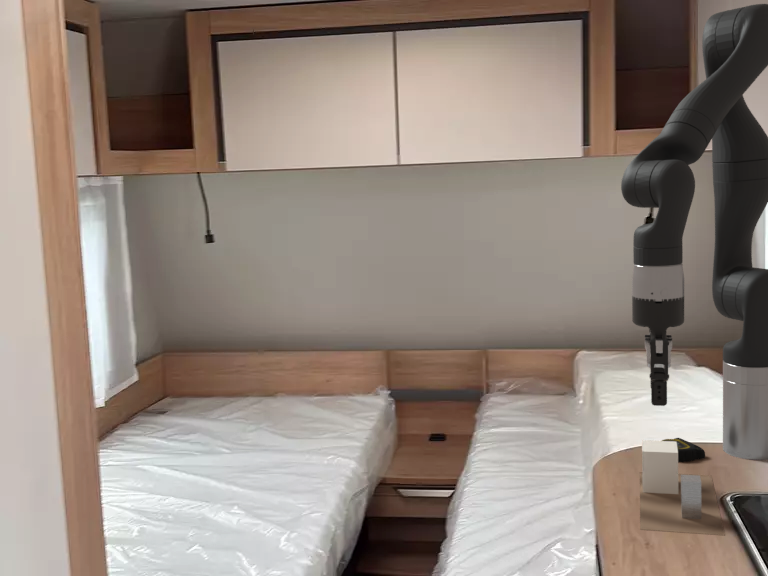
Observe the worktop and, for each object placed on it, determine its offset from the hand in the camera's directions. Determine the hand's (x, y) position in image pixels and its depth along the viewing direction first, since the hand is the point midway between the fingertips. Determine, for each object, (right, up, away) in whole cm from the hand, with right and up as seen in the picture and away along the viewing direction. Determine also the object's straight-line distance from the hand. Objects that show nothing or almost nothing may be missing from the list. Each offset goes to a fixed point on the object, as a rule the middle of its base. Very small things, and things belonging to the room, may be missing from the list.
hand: (658, 397), depth 128 cm
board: (+2, -17, -3) cm, 17 cm away
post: (+2, -16, -9) cm, 18 cm away
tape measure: (+9, -14, +16) cm, 23 cm away
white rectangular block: (+1, -14, +2) cm, 15 cm away
